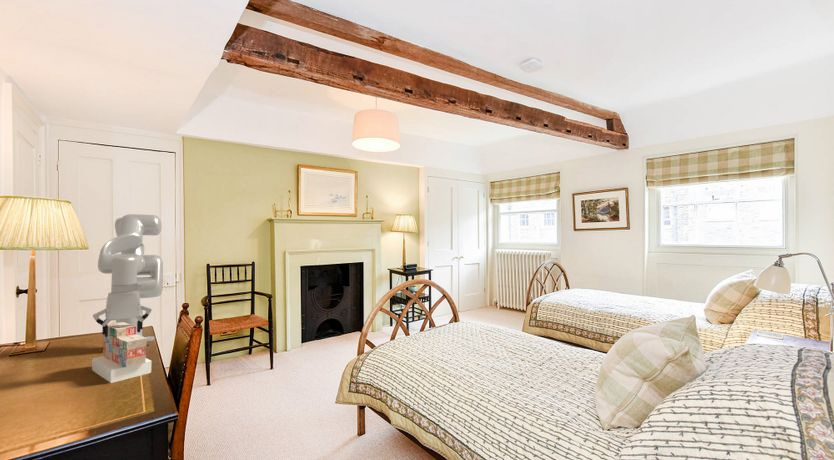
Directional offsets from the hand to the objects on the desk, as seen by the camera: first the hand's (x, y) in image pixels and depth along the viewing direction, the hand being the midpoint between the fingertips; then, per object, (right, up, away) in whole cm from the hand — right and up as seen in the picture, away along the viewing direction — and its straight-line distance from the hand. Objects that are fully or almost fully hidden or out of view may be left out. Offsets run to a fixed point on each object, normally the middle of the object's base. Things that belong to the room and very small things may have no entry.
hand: (122, 333), depth 137 cm
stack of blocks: (+1, -10, -1) cm, 10 cm away
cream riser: (0, -15, -1) cm, 15 cm away
